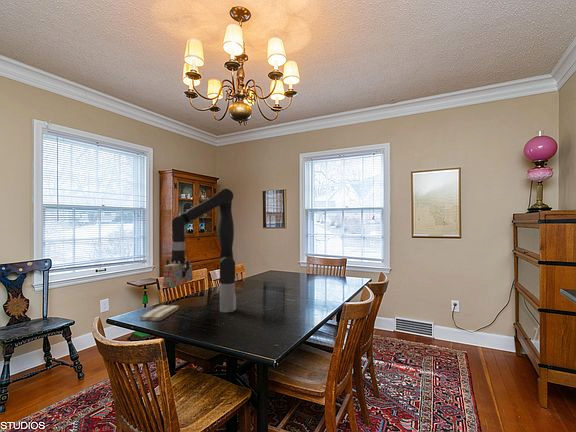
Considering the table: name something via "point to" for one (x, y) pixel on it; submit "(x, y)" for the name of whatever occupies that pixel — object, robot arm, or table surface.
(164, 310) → the birch board
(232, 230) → the robot arm
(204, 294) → the table surface
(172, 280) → the stack of blocks
